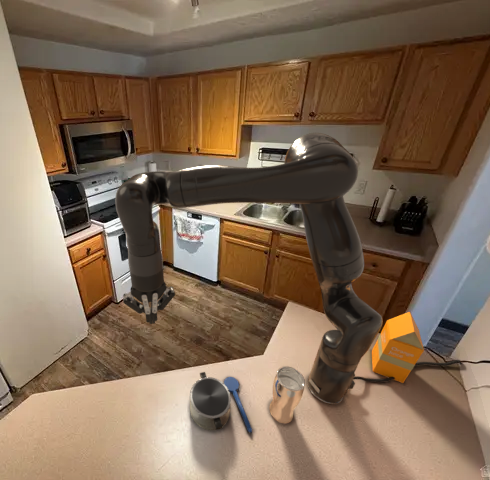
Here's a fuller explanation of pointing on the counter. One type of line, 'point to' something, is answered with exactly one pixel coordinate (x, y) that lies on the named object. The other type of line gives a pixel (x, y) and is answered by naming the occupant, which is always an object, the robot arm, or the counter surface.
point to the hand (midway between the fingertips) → (152, 321)
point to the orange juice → (397, 348)
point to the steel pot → (210, 403)
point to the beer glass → (286, 393)
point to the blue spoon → (237, 398)
